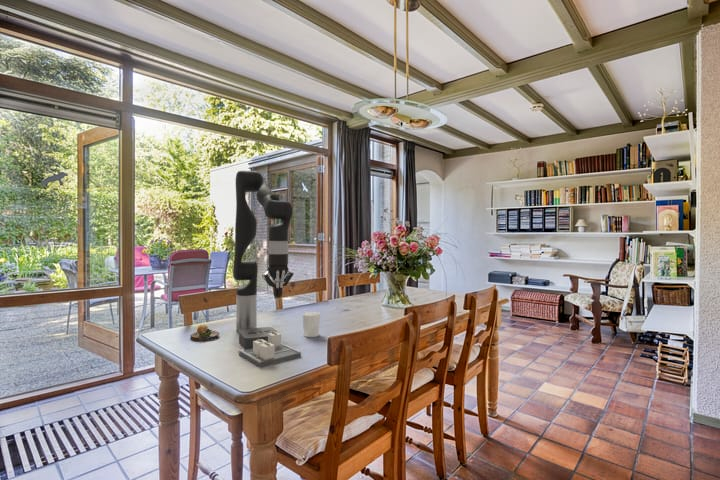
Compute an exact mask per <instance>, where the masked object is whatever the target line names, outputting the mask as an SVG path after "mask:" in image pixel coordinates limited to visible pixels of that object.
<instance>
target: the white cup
mask: <svg viewBox="0 0 720 480" xmlns="http://www.w3.org/2000/svg"><path fill="white" fill-rule="evenodd" d="M320 318H321V313H320V312H319V311H318V312H317V311H307V312H303V313H302V329H303V336H304V337H306V338H316V337H318V336H320V335H319V334H320V332H319V331H320V322H321V321H320V320H321V319H320Z"/></svg>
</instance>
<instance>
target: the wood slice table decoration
mask: <svg viewBox="0 0 720 480" xmlns="http://www.w3.org/2000/svg"><path fill="white" fill-rule="evenodd" d="M219 336H220V332H219V331H216V330H212V329H210V328H209V327H208V325H206V324H200V325H199V326H198V327H197V329H196V332H194V333H192V334H190V340H191V341H192V340H193V342H209V341H214V340H217V339H218V337H219Z"/></svg>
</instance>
